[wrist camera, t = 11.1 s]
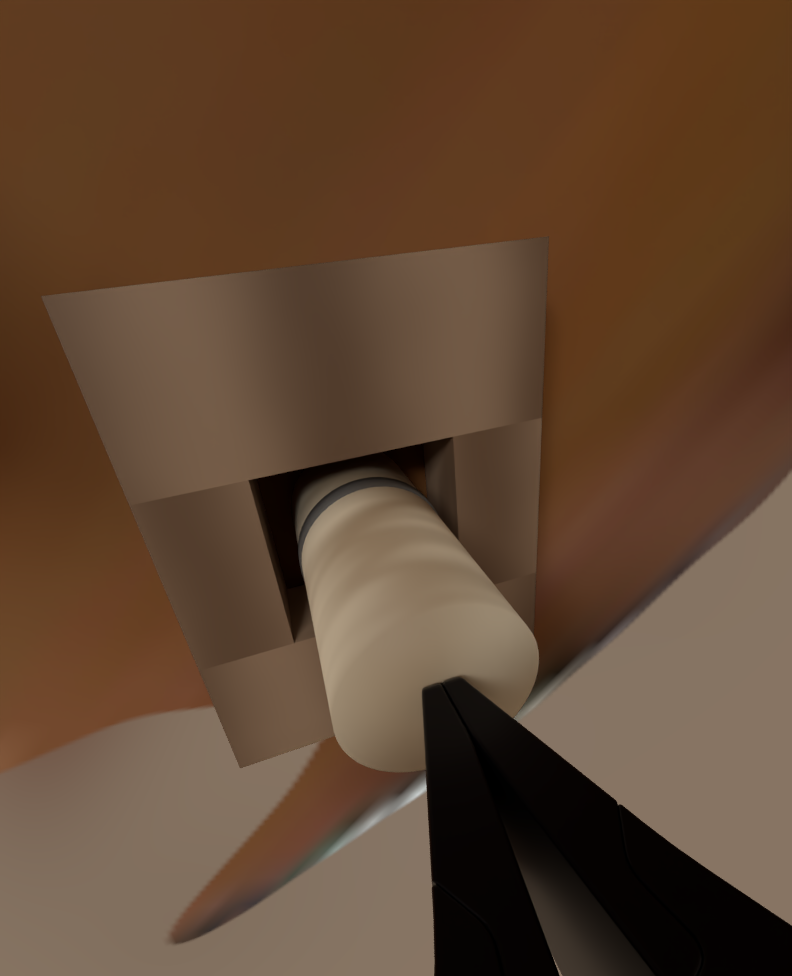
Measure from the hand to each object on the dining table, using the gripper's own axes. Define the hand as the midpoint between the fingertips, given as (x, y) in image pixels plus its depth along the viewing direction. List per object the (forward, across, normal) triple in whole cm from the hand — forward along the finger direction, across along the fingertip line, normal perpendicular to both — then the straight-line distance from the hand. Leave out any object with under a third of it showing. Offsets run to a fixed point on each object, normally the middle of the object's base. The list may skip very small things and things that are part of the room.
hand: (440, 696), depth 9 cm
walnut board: (+9, 0, 0) cm, 9 cm away
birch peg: (+9, 0, 0) cm, 9 cm away
